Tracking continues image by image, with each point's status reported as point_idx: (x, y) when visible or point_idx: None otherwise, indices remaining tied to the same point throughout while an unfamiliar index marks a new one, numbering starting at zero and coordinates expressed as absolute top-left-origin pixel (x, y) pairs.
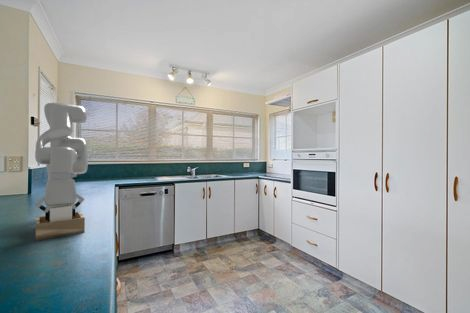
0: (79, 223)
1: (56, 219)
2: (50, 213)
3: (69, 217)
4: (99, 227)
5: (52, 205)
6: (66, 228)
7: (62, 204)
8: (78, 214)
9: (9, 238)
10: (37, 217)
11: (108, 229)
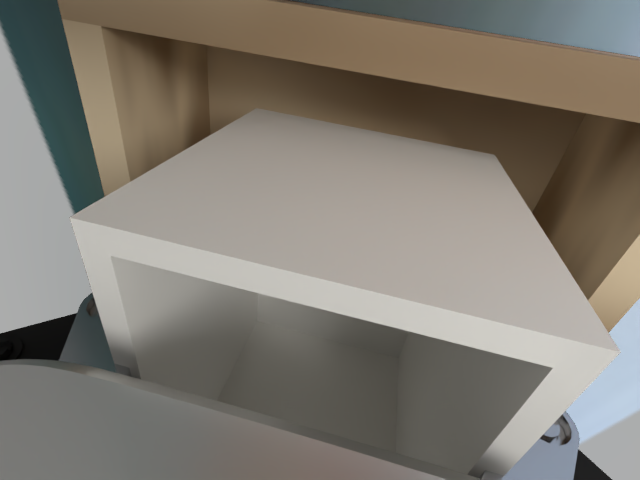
0: None
1: (275, 377)
2: None
3: (383, 410)
4: (632, 325)
5: (145, 257)
6: None
7: (374, 313)
8: (636, 208)
9: (40, 69)
10: (72, 22)
11: (613, 407)
